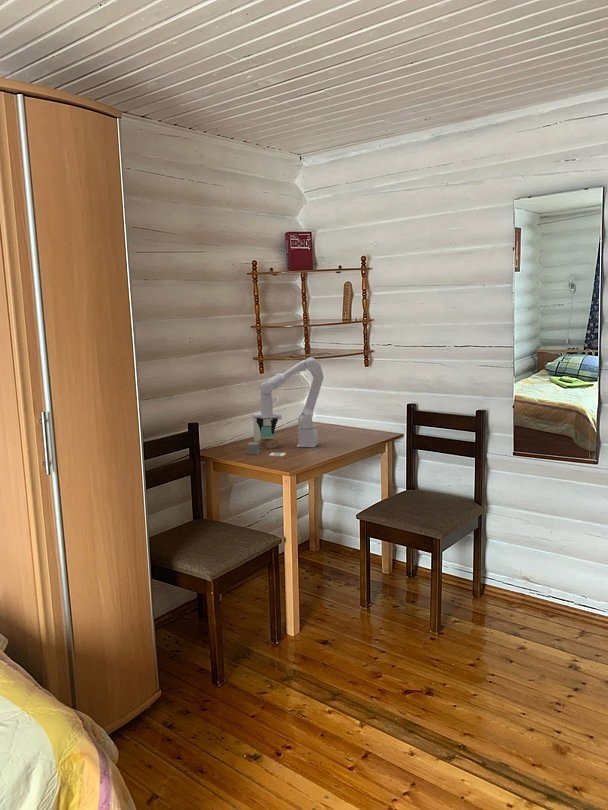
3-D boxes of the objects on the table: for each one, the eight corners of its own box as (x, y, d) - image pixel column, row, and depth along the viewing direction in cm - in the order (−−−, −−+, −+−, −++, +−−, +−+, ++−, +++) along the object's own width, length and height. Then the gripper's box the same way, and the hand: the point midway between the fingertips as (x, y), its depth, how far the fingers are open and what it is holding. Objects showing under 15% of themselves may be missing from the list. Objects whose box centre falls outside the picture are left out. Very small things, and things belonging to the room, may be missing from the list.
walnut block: (278, 446, 330) (278, 438, 330) (272, 450, 323) (271, 442, 322) (263, 445, 333) (263, 437, 332) (257, 449, 326) (257, 441, 325)
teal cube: (273, 435, 329) (273, 425, 328) (271, 437, 324) (270, 427, 323) (264, 435, 330) (263, 425, 329) (261, 437, 325) (261, 427, 324)
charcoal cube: (260, 452, 317) (260, 442, 316) (257, 455, 312) (256, 444, 311) (250, 452, 318) (250, 442, 317) (247, 454, 313) (246, 444, 312)
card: (285, 453, 313) (285, 452, 313) (283, 456, 308) (283, 455, 308) (271, 453, 315) (271, 452, 315) (268, 455, 310) (268, 454, 310)
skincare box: (260, 443, 336) (259, 415, 333) (253, 442, 340) (252, 413, 338) (273, 441, 341) (272, 413, 339) (265, 439, 346) (264, 411, 343)
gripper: (250, 407, 322) (251, 434, 325) (278, 407, 319) (279, 435, 321) (254, 405, 329) (255, 431, 331) (282, 405, 326) (283, 432, 328)
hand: (267, 433), depth 327 cm, fingers closed on teal cube, 5 cm apart
